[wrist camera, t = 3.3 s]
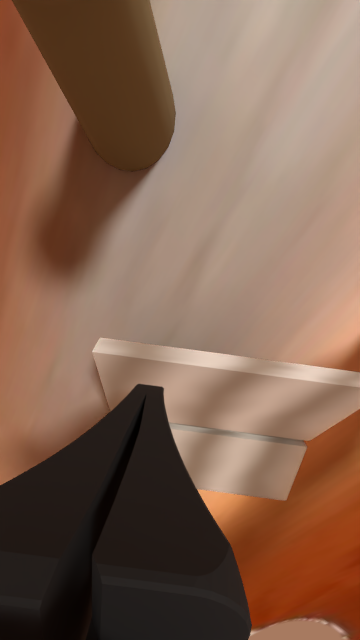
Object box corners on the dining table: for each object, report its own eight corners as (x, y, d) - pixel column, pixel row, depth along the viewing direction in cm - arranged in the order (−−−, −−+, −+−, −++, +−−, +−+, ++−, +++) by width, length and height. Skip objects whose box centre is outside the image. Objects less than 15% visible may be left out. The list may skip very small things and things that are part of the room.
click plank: (374, 374, 13) (387, 391, 12) (304, 426, 18) (309, 440, 18) (99, 337, 13) (92, 351, 12) (115, 401, 18) (111, 414, 18)
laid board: (301, 431, 19) (309, 441, 18) (280, 487, 21) (286, 500, 20) (115, 406, 19) (111, 415, 18) (113, 465, 21) (108, 477, 20)
